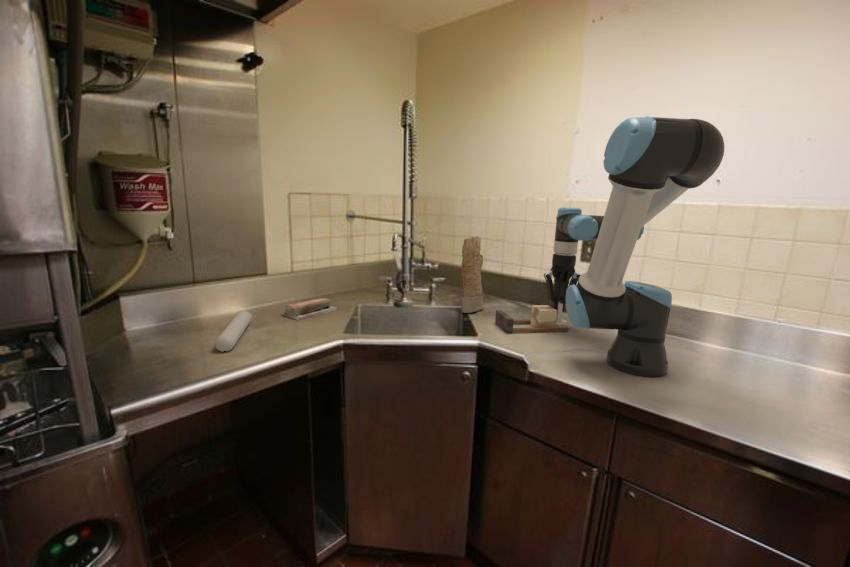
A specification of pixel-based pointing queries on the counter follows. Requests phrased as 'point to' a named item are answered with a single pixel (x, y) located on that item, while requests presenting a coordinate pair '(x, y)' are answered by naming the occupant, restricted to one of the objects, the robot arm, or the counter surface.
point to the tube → (233, 331)
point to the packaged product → (308, 309)
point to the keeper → (543, 316)
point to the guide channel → (508, 322)
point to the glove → (472, 275)
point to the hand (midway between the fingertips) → (557, 320)
